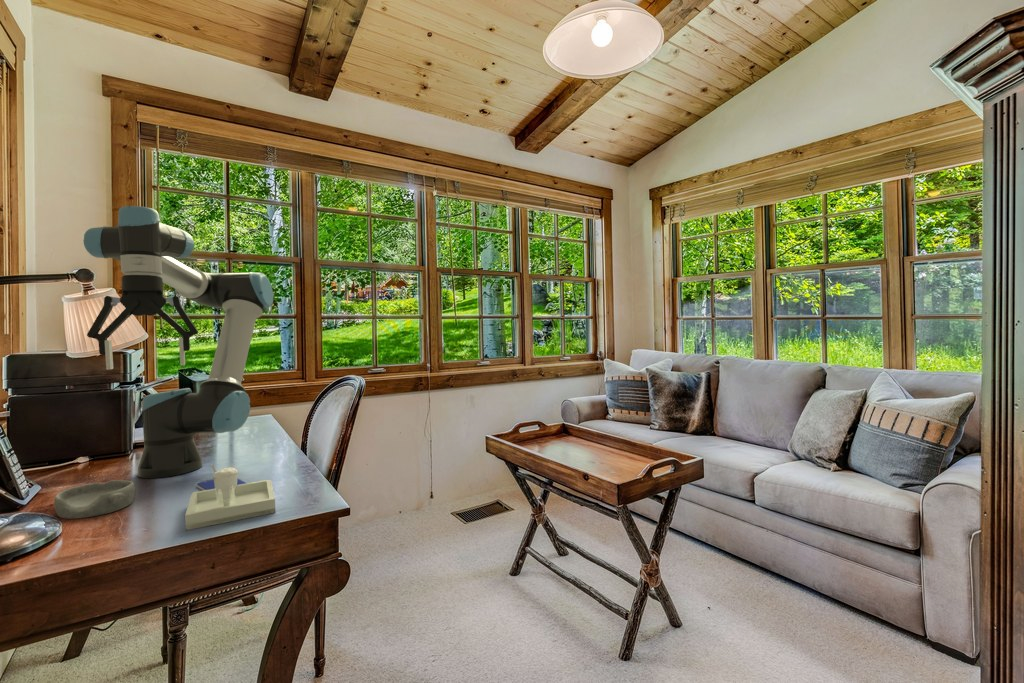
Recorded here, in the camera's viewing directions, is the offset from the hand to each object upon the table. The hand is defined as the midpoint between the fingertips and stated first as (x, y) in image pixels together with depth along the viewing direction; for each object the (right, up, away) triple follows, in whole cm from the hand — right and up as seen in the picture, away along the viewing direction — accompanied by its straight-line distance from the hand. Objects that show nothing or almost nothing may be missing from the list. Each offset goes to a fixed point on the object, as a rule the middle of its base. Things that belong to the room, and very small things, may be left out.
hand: (147, 367), depth 111 cm
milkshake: (+23, -30, -9) cm, 39 cm away
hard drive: (+11, -32, +11) cm, 35 cm away
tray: (+23, -31, -5) cm, 39 cm away
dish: (-10, -33, -2) cm, 34 cm away
